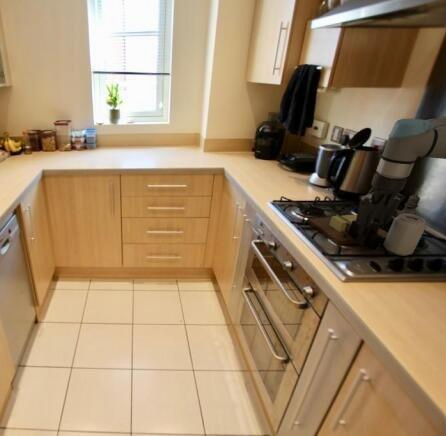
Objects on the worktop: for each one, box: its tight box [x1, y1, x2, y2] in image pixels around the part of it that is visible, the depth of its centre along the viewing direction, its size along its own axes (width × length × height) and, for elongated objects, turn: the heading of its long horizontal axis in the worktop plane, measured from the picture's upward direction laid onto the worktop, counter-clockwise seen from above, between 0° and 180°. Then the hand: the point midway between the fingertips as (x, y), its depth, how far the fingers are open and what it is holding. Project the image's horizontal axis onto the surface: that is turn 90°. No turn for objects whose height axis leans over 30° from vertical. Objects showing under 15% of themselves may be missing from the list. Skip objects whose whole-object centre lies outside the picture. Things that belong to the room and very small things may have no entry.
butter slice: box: [329, 215, 348, 232], centre depth 111 cm, size 5×2×4 cm, turn 6°
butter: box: [340, 213, 373, 223], centre depth 111 cm, size 5×8×4 cm, turn 96°
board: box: [306, 216, 388, 246], centre depth 112 cm, size 16×20×2 cm
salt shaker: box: [396, 193, 421, 217], centre depth 114 cm, size 6×6×12 cm
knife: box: [334, 213, 382, 251], centre depth 106 cm, size 18×2×5 cm, turn 6°
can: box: [382, 213, 427, 257], centre depth 98 cm, size 8×8×12 cm
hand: (363, 242), depth 103 cm, fingers closed on knife, 2 cm apart
